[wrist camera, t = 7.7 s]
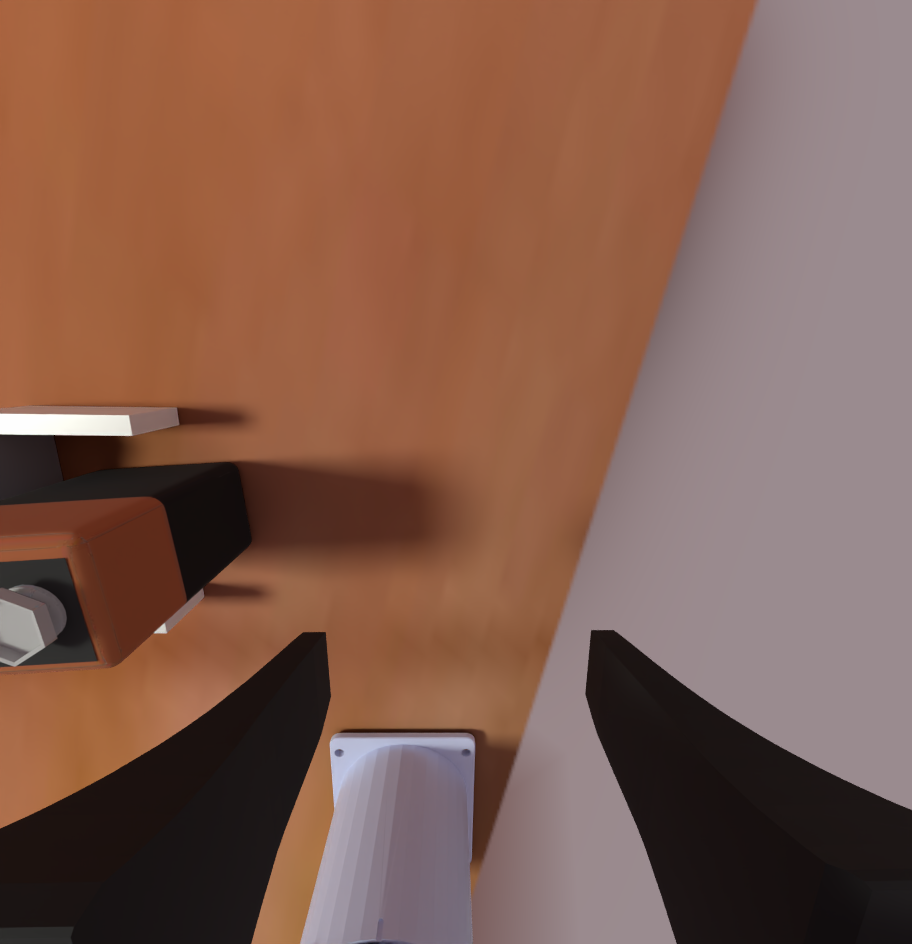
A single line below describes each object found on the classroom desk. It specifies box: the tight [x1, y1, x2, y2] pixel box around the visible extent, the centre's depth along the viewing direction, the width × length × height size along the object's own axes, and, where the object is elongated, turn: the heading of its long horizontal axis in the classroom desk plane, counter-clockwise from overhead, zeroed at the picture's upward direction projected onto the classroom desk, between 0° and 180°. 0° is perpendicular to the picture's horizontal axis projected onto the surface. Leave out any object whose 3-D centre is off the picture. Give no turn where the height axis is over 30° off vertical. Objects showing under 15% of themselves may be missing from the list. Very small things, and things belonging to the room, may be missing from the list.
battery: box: [0, 462, 252, 675], centre depth 16 cm, size 4×7×10 cm, turn 93°
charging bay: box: [0, 406, 204, 633], centre depth 19 cm, size 10×7×3 cm
